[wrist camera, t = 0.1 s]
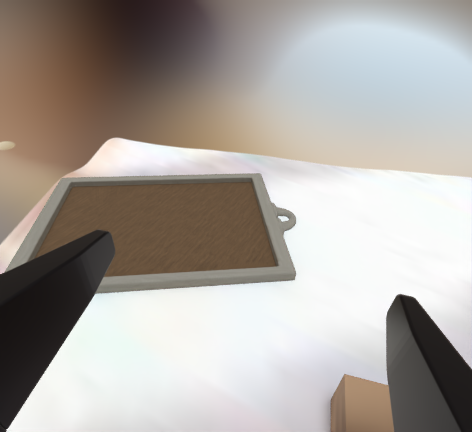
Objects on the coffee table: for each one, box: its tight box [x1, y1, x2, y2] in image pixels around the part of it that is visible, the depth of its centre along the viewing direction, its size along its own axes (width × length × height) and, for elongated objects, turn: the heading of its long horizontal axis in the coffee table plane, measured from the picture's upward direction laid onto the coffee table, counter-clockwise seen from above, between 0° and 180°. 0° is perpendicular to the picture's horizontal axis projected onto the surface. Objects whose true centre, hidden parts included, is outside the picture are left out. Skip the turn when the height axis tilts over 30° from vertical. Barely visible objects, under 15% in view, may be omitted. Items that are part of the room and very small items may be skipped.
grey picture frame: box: [5, 173, 296, 294], centre depth 37 cm, size 19×2×30 cm
